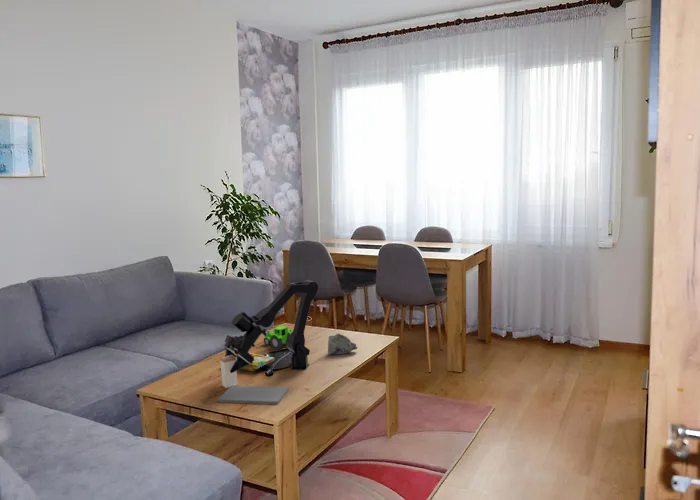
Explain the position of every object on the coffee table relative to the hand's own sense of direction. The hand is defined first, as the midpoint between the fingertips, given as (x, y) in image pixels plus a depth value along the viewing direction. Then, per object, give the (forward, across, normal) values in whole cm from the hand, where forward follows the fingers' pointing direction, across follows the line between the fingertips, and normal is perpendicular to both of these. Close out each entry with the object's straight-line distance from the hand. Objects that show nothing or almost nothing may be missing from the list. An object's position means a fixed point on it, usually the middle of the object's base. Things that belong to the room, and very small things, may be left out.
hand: (226, 369), depth 227 cm
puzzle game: (-7, -16, +18) cm, 25 cm away
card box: (+4, 0, +6) cm, 7 cm away
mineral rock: (-36, -4, +46) cm, 59 cm away
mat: (+2, +17, +8) cm, 19 cm away
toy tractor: (-24, -36, +34) cm, 55 cm away
